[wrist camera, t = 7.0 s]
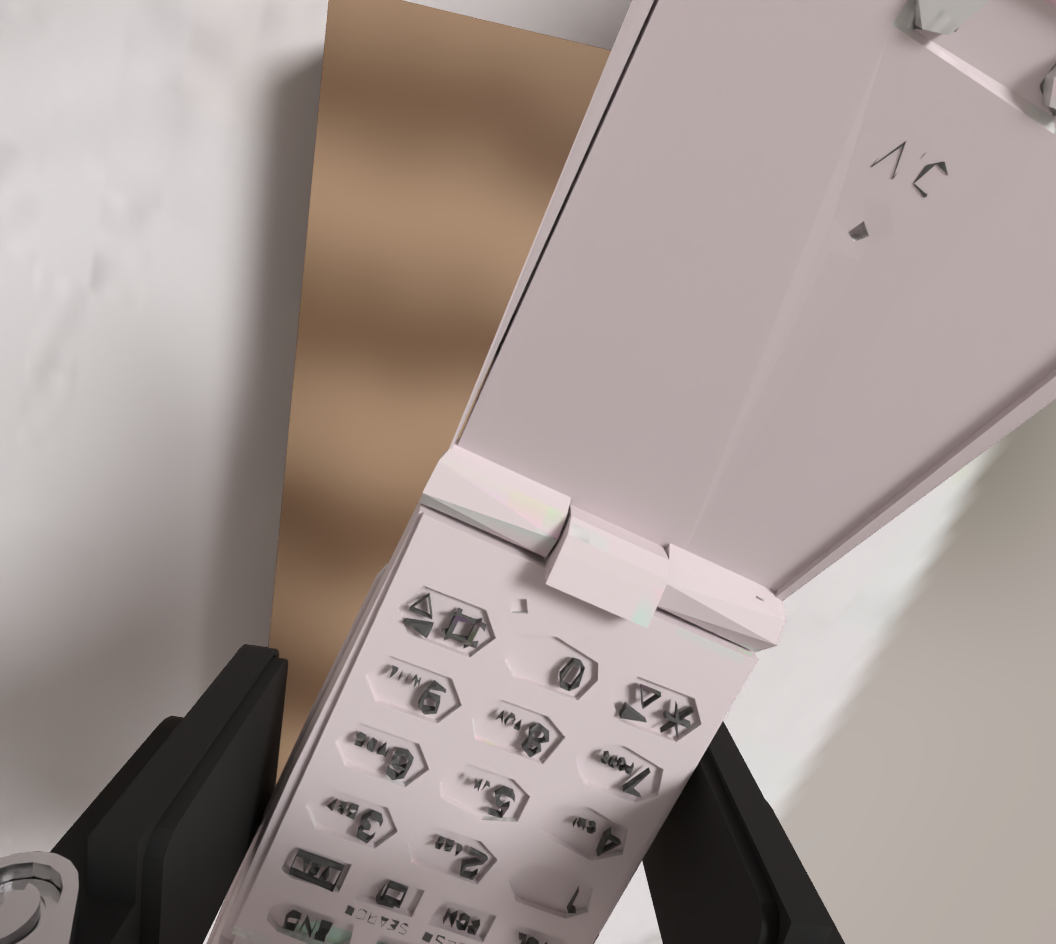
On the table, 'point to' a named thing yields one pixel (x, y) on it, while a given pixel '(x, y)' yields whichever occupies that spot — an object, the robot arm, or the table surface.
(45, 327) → the table surface
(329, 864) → the mobile phone
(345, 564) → the walnut stand
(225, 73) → the table surface
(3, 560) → the table surface
